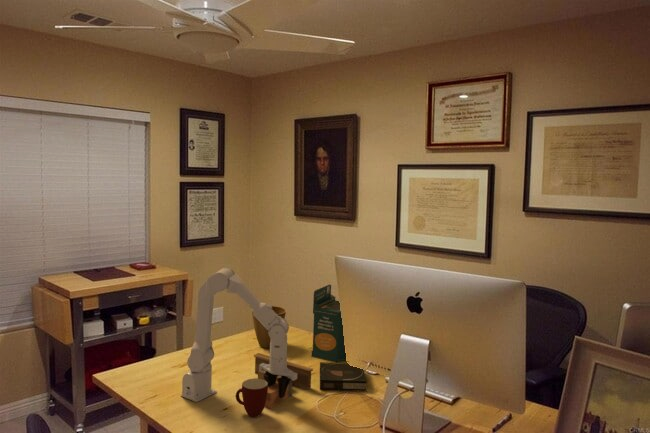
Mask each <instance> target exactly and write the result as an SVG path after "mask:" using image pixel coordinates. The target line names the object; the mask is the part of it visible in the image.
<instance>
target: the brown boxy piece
mask: <svg viewBox="0 0 650 433" xmlns="http://www.w3.org/2000/svg"><path fill="white" fill-rule="evenodd" d="M292 392H293V385H292V380H291V381H290V382H289V384H288V387H287V389H286V393H285V396H284V397H283V398H280V397H279V385H278V382H277V381H276V383H275V384H273V385H271V386H270V387H268V393H267V398H266V403H265V407H264V408H268V409H272V408H273V407H275V406H276V405H278V404H280V403H281V402H283V401H284V400H286V399H287V398H289V397H291V396H292V395H293V393H292Z"/></svg>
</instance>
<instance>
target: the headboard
mask: <svg viewBox="0 0 650 433" xmlns="http://www.w3.org/2000/svg"><path fill="white" fill-rule="evenodd" d="M253 358H254V360H255V361H254V363H255V366H254V374H255V375H257V379H263V380H265V379H264V377H263V375H264V374H266V371H263V370H262V371H260V370H259V365H260V364H262V363H264V364H270V355H267V354H263V353H260V352H257V353H255V354H253ZM287 368H288V369H290V370H291V371H293V372H295V373H297V379H296V380H294V381H293V380H292V387H293V386H294V387H297V388H301V389H303V390H306V391H308V390H310V389H311V387H312V386H311V384H312V372H313V371H314V367H313V368H312V367H308V366H305V365H302V364H299V363H295V362H292V361H289V360H287ZM280 377H281V376H280V375H277V379H279V378H280ZM277 379H276V383H277V382H278V381H277ZM265 381H266V380H265Z"/></svg>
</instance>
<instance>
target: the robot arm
mask: <svg viewBox="0 0 650 433" xmlns="http://www.w3.org/2000/svg"><path fill="white" fill-rule="evenodd" d="M225 290H226V291H225ZM223 291H225V293H228V294H236V295H237V296H238V297H239V298H240V299H241V300H242V301H243V302H244V303H245V304H247V305H248V306H249V307H250V309H251V310H252V309H253V312H254V316H255V317H256V318H257V320H258V321H259V322H260V323H261V324H262V325H263V326H264V327H265V328H266V329H267V330H269V332H268V333H269V336H270V338H271V342H270V348H269V356H270V364H264V363H262V364H260V365H259V370H260V371H262V370H263V371H266V374H264V375H263V377H264V379H265V380H266V381H267V383H268V387H270V386H271V385H273V384H275V383H277V381H278V385H279V397H280V398H283V397H284V396H285V393H286V389H287V387H288V384H289V382H290V381H291V380H293V381H294V380H296V379H297V373H295V372H293V371H291V370H290V369H288V368H287V361H288V332H289V330H290V325H289V323H288V321H287V319H286V318H285V319H283V318H281V316H278V315H277V314H276V313H275V312H274V311H273V310H272V309H271V308H272V306H273V305H271V304H269V305H268V304H267V303H266V302H261V301H260V300H259V299H258V298H257V296H256V295H255V294H254V293H253V292H252V291H251V290H250V288H249V287H248V286H247V285H246V284H245V283H244V282H243V279H241V277H240V276H239V275H238V274H237V273H236V272H235V271H234V270H233V269H232V268H229V267H223V268H222V267H221V269H219V270H217V271H216V272H214V273H212V274H211V275H209V276H207V278H206V280H205V281H204V282H203V283H202V285H201V286H200V287H199V289H198V294H197V295H198V296H197V305H196V307H197V308H196V320H195V332H194V333H195V334H194V342H193V344H192V347H191V349H190V353H189V354H190V355H189V356H188V358H187V367H188V368H189V370H188V371H187V372H186V373H185V374H184V375H183V376H182V384H181V385H182V386H181V388H182V391H181V394H180V397H183V398H185V399H188V400H190V401H193V402H195V403H198V402H200V401H202V400H204V399H206V398H208V397H210V396H212V395H213V394H216V393H217V392H218V390H217V389H215V388H214V389H213V388H212V381H213V380H212V375H213V374H212V373H213V372H212V371H213V370H212V369H213V368H212V367H213V365H212V363H211V361H212V360H213V359H214V357H215V351H214V348H213V341H212V338H211V336H212V326H213V324H212V323H213V313H214V312H213V311H214V300H215V295H216V294H218V293H222V292H223ZM277 375H280V376H281V377H280V378H279V379H277ZM276 379H277V380H276Z"/></svg>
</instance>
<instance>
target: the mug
mask: <svg viewBox="0 0 650 433" xmlns="http://www.w3.org/2000/svg"><path fill="white" fill-rule="evenodd" d="M267 393H268V383H267V381H265V380H263V379H258V378H248V379H246V380H244V381H242V383H241V388H238V390H237V391H236V393H235V399H236V402H237V403H238V404H240V405H242V406H243V407H244V411H245V412H246V413H247V416H248V417H251V418H257V417H260V416H261V414H262V413H263V411H264V409H265V408H266V407H265V403H266V398H267ZM240 394H241V395H242V400H241V397H240Z"/></svg>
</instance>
